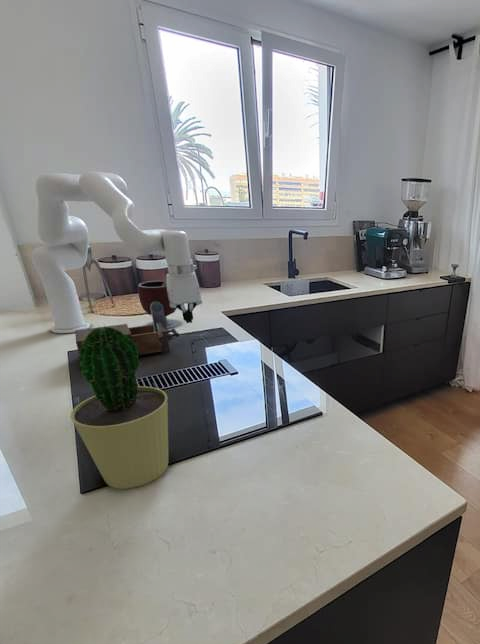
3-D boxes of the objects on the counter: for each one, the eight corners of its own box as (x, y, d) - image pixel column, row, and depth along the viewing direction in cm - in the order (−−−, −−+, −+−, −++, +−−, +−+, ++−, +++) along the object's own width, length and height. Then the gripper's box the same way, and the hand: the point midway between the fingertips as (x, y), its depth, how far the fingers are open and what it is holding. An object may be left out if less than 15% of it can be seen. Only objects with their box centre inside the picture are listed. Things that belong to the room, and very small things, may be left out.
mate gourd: (137, 327, 159) (126, 277, 151) (164, 318, 171) (156, 272, 163) (166, 332, 154) (157, 281, 146) (192, 323, 165) (185, 275, 157)
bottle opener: (153, 337, 148) (145, 301, 143) (169, 335, 151) (162, 299, 146) (155, 341, 145) (148, 304, 139) (171, 338, 148) (165, 302, 142)
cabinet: (132, 348, 137) (126, 323, 134) (137, 360, 128) (131, 333, 124) (82, 356, 130) (75, 330, 126) (83, 369, 120) (75, 341, 117)
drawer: (176, 339, 144) (172, 320, 141) (183, 349, 136) (179, 329, 133) (121, 348, 135) (116, 328, 132) (124, 359, 126) (119, 337, 123)
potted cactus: (120, 509, 68) (73, 347, 56) (75, 476, 75) (26, 327, 63) (195, 463, 80) (171, 322, 68) (151, 439, 87) (122, 308, 75)
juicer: (115, 306, 186) (100, 240, 174) (91, 312, 176) (74, 243, 164) (101, 304, 189) (85, 239, 177) (78, 309, 180) (59, 241, 168)
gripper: (200, 266, 139) (207, 316, 146) (154, 269, 131) (164, 322, 138) (206, 269, 133) (213, 321, 140) (158, 273, 125) (168, 328, 133)
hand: (188, 321), depth 139 cm, fingers closed
